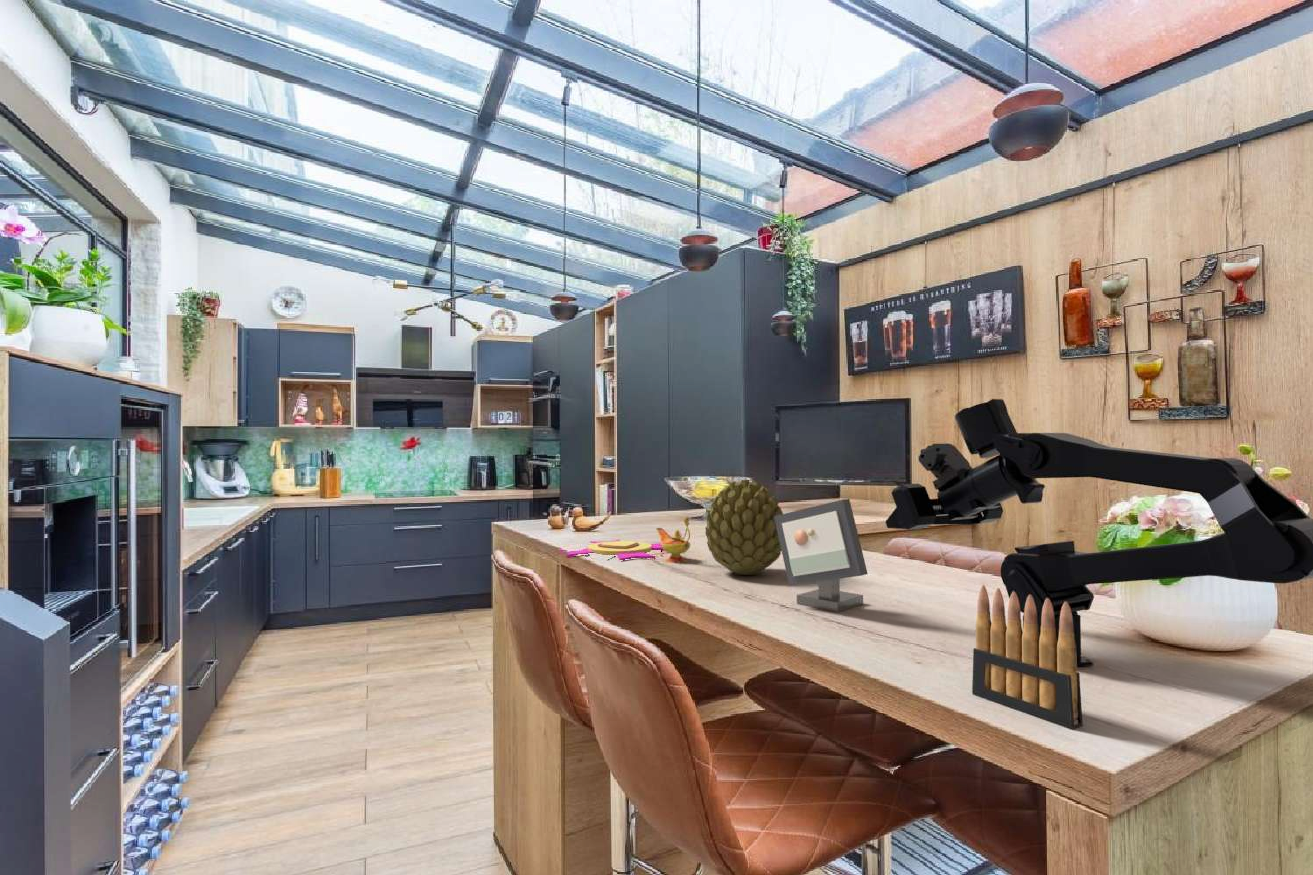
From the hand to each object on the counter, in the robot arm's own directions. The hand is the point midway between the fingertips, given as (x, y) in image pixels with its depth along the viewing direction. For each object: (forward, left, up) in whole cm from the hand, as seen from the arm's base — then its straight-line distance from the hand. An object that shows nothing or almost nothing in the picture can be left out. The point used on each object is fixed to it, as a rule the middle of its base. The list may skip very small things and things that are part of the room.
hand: (908, 523), depth 105 cm
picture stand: (+11, +9, -15) cm, 21 cm away
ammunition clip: (-36, +6, -15) cm, 39 cm away
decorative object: (+39, +17, -15) cm, 45 cm away
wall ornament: (+74, +42, -16) cm, 86 cm away
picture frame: (+5, +12, -10) cm, 16 cm away
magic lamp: (+59, +30, -15) cm, 68 cm away
